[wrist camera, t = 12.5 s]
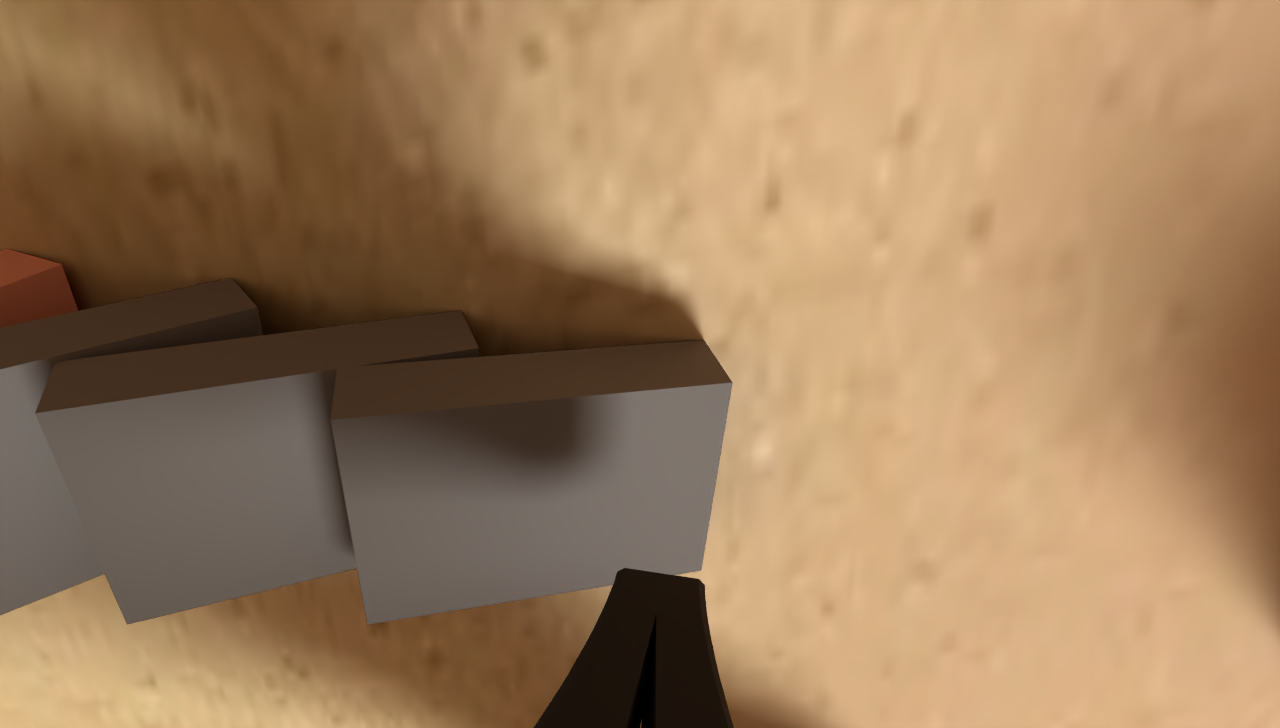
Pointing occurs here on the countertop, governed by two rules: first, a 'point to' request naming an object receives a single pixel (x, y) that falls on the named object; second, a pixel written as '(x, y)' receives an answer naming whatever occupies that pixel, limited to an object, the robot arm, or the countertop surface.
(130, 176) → the countertop surface
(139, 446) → the domino
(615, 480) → the domino
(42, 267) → the domino
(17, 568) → the domino
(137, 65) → the countertop surface
